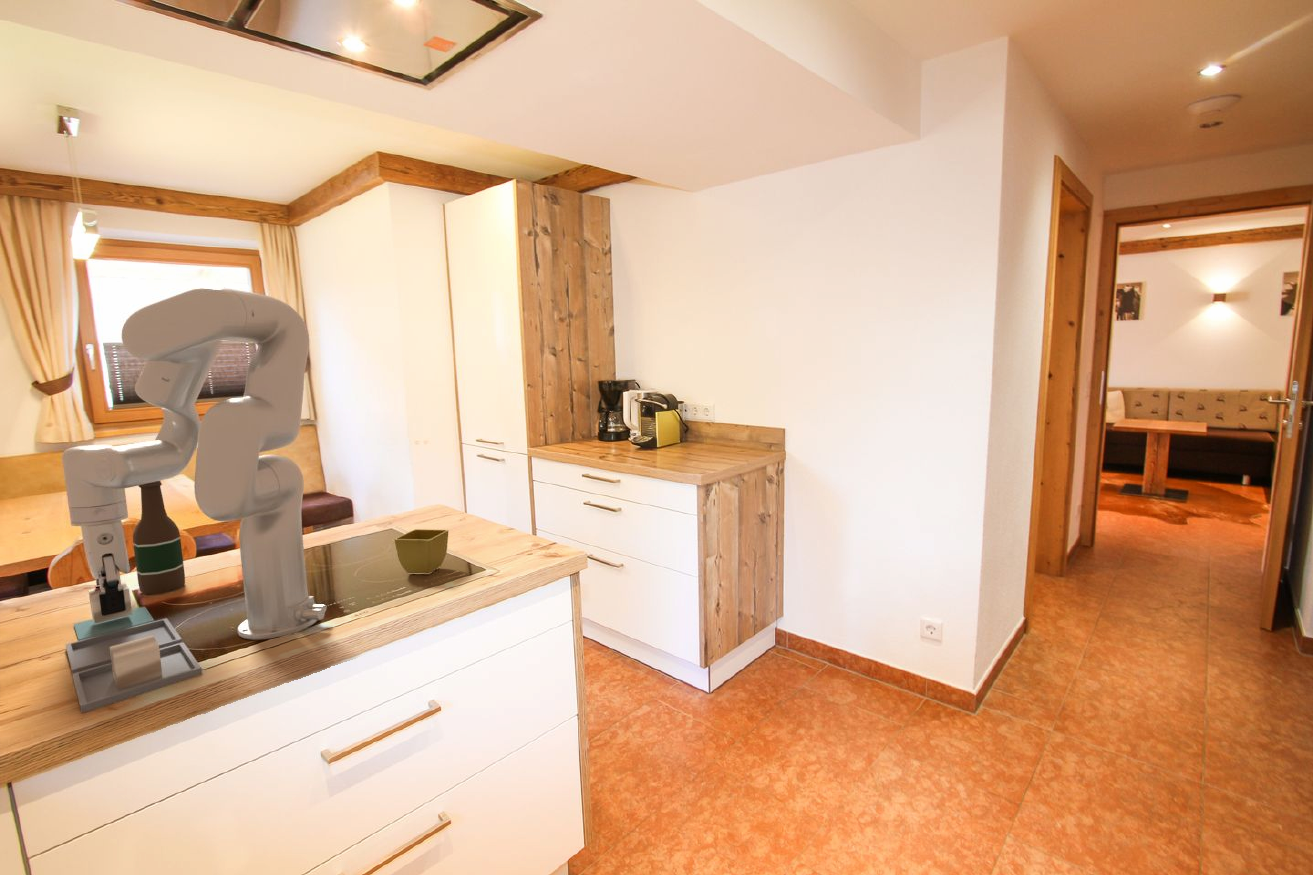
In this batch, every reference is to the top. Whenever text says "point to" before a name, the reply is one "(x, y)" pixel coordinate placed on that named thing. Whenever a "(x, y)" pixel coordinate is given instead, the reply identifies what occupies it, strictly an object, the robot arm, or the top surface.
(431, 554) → the flower pot
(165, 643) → the dish far
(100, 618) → the letter cube
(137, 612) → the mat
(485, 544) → the top surface
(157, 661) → the plain cube
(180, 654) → the dish near
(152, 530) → the beer bottle
